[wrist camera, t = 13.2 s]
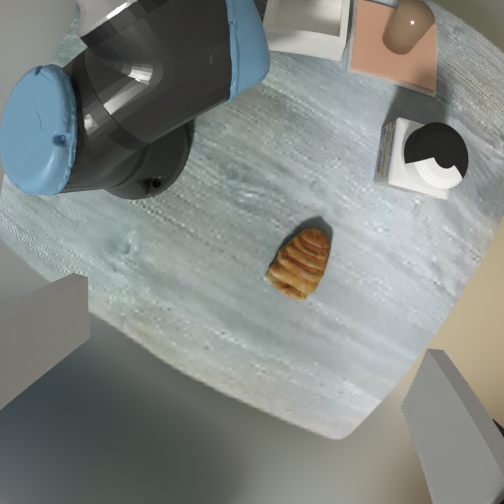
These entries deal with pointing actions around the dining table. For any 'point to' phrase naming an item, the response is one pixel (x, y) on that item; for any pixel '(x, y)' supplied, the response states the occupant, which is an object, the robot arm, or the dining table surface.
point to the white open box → (307, 27)
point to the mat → (377, 75)
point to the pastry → (300, 264)
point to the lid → (396, 42)
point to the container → (420, 158)
